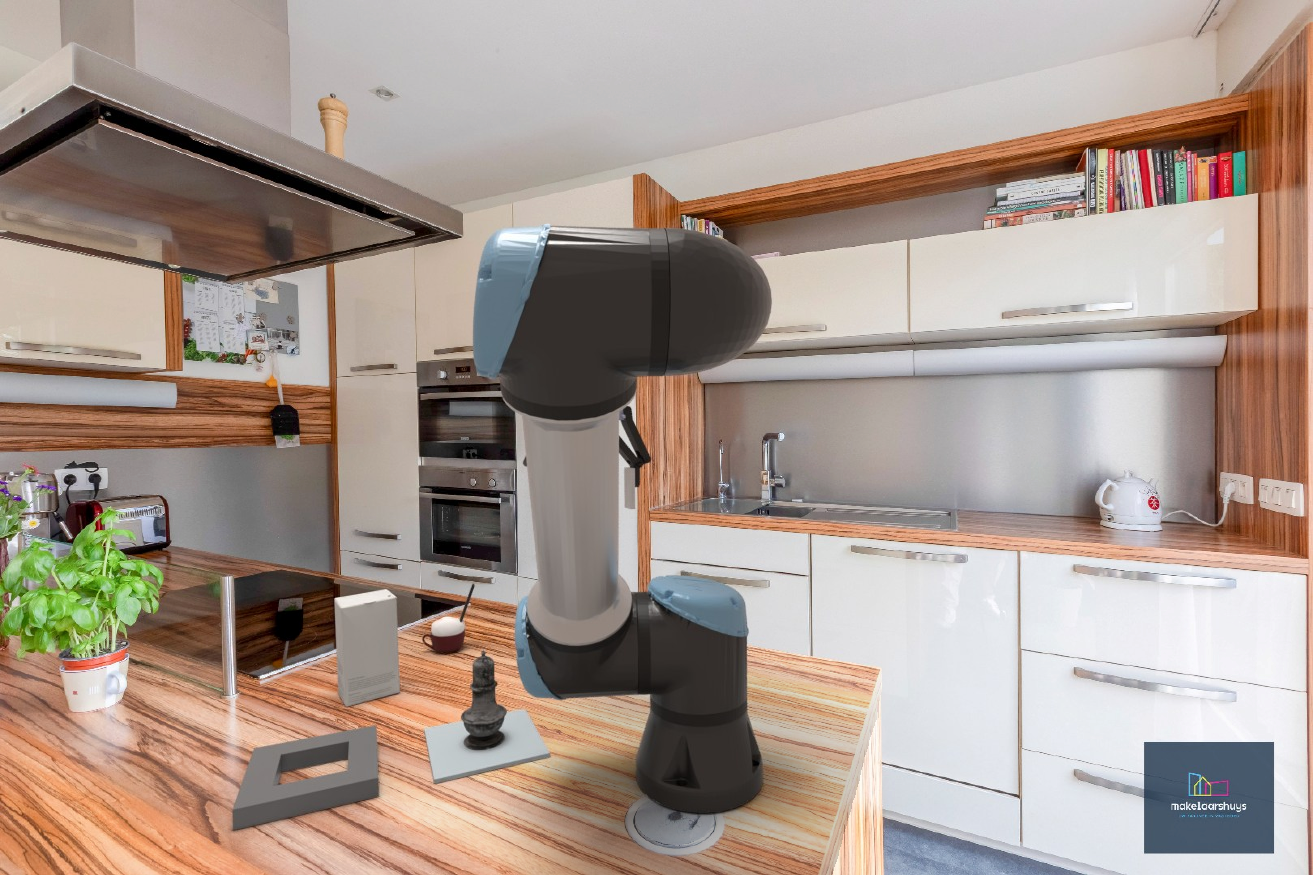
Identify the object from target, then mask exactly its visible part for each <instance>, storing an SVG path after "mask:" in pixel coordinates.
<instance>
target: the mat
mask: <svg viewBox="0 0 1313 875" xmlns="http://www.w3.org/2000/svg"><path fill="white" fill-rule="evenodd" d="M423 730H424V737H425V743H426V749H427V752H428V758H429V765H430V768H431V774H432V775H431V776H432V780H433V785H434V784H435V785H436V784H439V783H444V782H449V781H451V780H452V781H453V780H456V779H460V778H466V777H470V776H474V775H478V774H481V773H486V772H491V771H495V770H496V771H497V770H499V769H503V768H504V769H505V768H508V767H512V766H513V767H514V766H516V765H517V766H518V765H522V764H525V763H529V762H533V761H538V760H543V759H547V758H550V757H551V752H550V750H549V748H548V747H547V745H546V743H545V741H544V740H543V738H542V736H541V734H540V732H539V731H538V729H537V727H536V726H535V723H534V722H533V720H532V718H531V717H530V714H529V713H528V711H527V710H526V708H520V709H515V710H510V711H507V713H506V715H505V718H504V722H503V724H502V727H501V728H500V729H499V731H501V732H502V733H503V734H504V735H505V740H504V741H503V742H502V743H501V744H500V745H498V746H496V747H494V748H491V749H487V750H472V749H468V748H466V747H465V746H464V739H465V738H466V737H467V736H468V735H470V733H468V732H467V731H466V729H465V726H464V722H463V721H462V720H459V721H453V722H449V723H445V724H440V725H435V726H428V727H424V728H423Z"/></svg>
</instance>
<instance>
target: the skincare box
mask: <svg viewBox="0 0 1313 875" xmlns="http://www.w3.org/2000/svg"><path fill="white" fill-rule="evenodd" d="M334 621H335V622H334V624H335V625H334V626H335V645H336V674H337V676H336V677H337V693H338V695H339V697H340V699H341V700H342V702H343V704H344V706H345V707H346V708H347V707H351V706H354V705H358V704H362V703H366V702H369V701H373V700H377V699H381V698H383V697H388V696H391V695H395V694H399V693H400V692H401V682H400V677H401V676H400V655H399V632H398V629H399V628H398V597H397V596H396V595H395V594H393V593H392V592H391V591H390V590H388V589H385V588H384V589H379V590H374V591H368V592H363V593H358V594H351V595H346V596H340V597H335V598H334Z"/></svg>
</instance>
